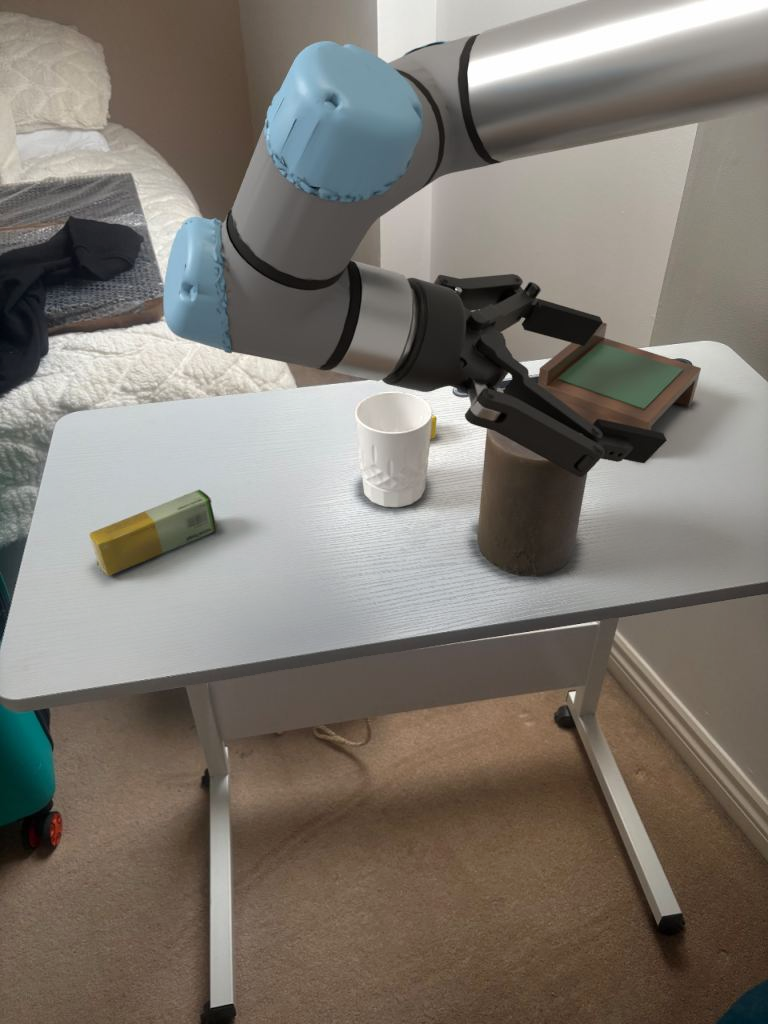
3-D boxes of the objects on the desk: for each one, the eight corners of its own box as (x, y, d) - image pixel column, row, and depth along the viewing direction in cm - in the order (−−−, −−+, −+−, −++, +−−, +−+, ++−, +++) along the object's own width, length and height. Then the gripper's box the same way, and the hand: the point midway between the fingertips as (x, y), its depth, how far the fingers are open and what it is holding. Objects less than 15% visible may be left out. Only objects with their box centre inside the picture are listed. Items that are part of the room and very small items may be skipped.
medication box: (207, 519, 87) (200, 487, 85) (219, 530, 85) (212, 498, 83) (97, 565, 81) (86, 531, 79) (107, 578, 80) (96, 544, 77)
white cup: (417, 518, 87) (419, 439, 80) (347, 503, 89) (343, 425, 82) (438, 475, 93) (441, 398, 86) (371, 462, 95) (370, 386, 88)
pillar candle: (510, 588, 79) (525, 460, 69) (459, 528, 85) (467, 404, 76) (594, 558, 82) (620, 431, 72) (539, 502, 89) (556, 380, 79)
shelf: (692, 403, 104) (705, 353, 99) (640, 458, 95) (652, 406, 90) (590, 369, 110) (598, 320, 106) (533, 418, 101) (539, 367, 97)
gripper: (341, 264, 68) (546, 321, 77) (407, 502, 53) (650, 536, 63) (380, 183, 63) (595, 256, 72) (465, 422, 48) (720, 473, 58)
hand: (621, 386), depth 68 cm, fingers open, 13 cm apart
